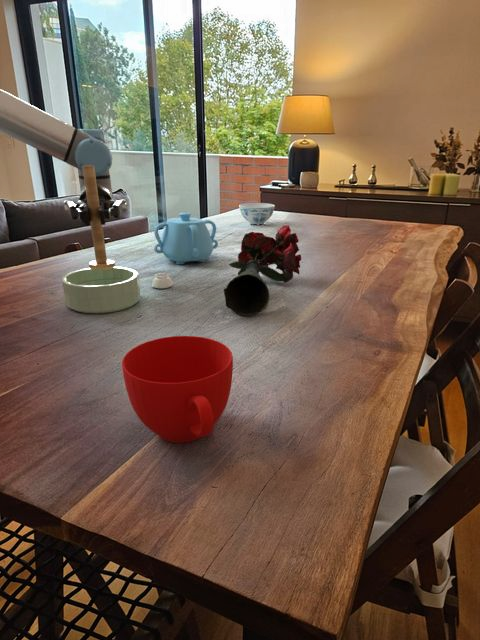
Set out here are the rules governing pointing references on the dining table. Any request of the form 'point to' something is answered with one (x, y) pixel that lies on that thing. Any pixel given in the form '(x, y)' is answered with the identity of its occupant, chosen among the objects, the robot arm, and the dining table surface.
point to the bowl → (101, 289)
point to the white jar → (162, 281)
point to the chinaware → (256, 212)
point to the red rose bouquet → (261, 270)
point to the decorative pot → (186, 239)
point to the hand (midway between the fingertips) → (94, 217)
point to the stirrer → (95, 221)
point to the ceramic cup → (179, 385)
